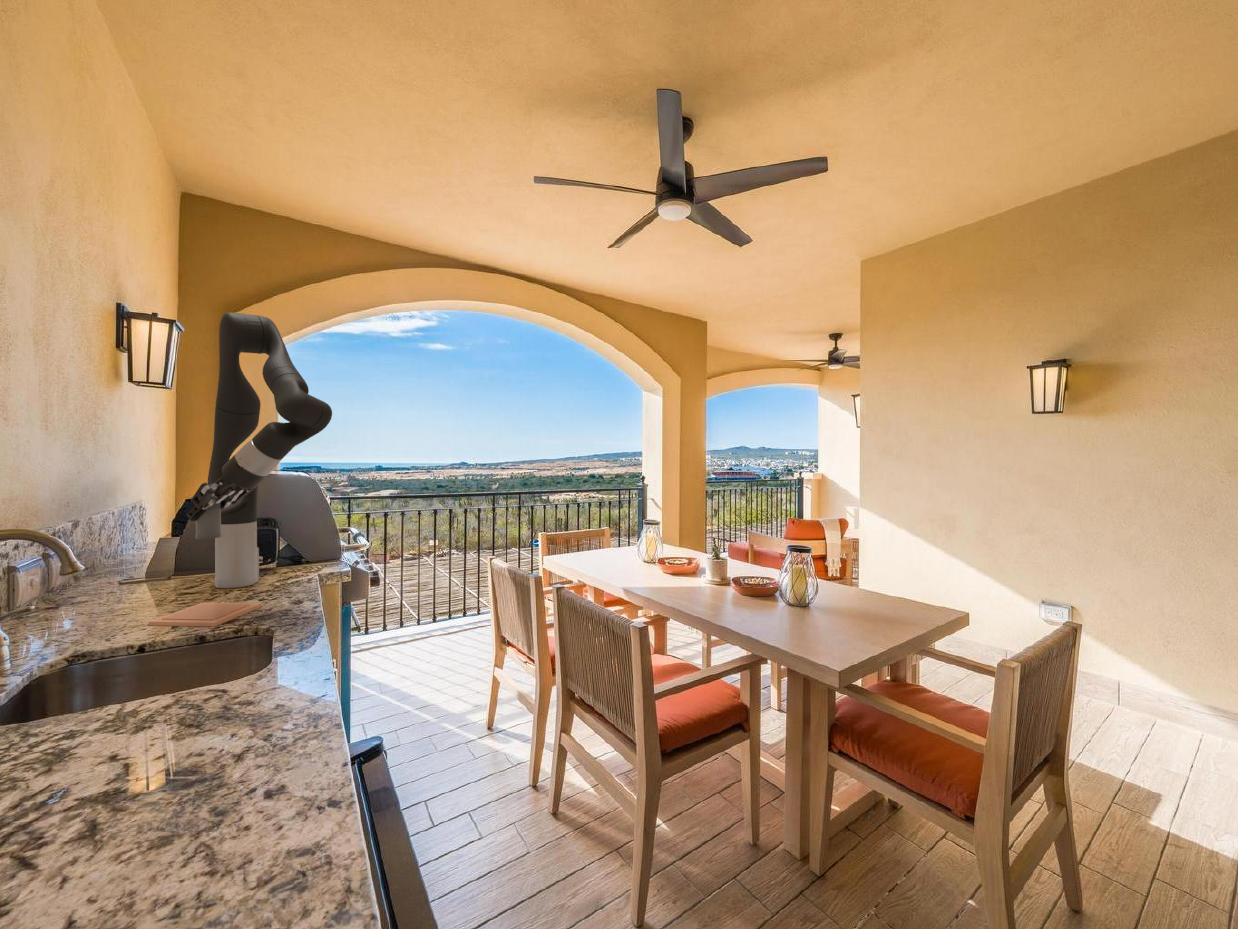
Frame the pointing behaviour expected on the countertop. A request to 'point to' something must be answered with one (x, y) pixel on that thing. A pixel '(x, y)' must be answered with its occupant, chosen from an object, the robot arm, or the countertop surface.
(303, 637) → the countertop surface
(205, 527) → the grey tall block
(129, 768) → the countertop surface
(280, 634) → the countertop surface
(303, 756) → the countertop surface
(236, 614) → the coaster
